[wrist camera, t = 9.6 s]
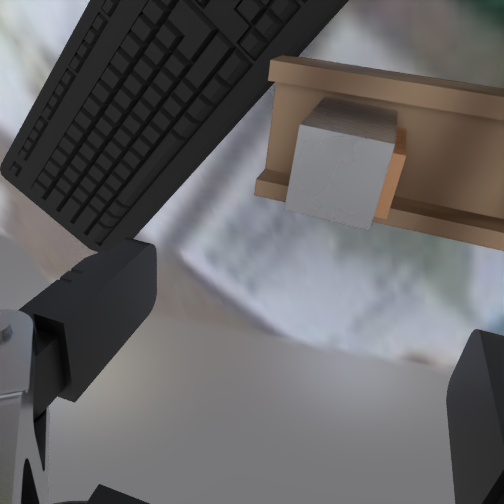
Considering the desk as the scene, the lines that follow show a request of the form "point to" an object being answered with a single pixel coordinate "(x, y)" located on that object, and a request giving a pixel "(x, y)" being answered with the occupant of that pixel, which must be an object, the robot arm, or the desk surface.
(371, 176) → the gray metallic block
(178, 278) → the desk surface
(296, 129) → the rail
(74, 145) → the keyboard
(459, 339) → the desk surface
